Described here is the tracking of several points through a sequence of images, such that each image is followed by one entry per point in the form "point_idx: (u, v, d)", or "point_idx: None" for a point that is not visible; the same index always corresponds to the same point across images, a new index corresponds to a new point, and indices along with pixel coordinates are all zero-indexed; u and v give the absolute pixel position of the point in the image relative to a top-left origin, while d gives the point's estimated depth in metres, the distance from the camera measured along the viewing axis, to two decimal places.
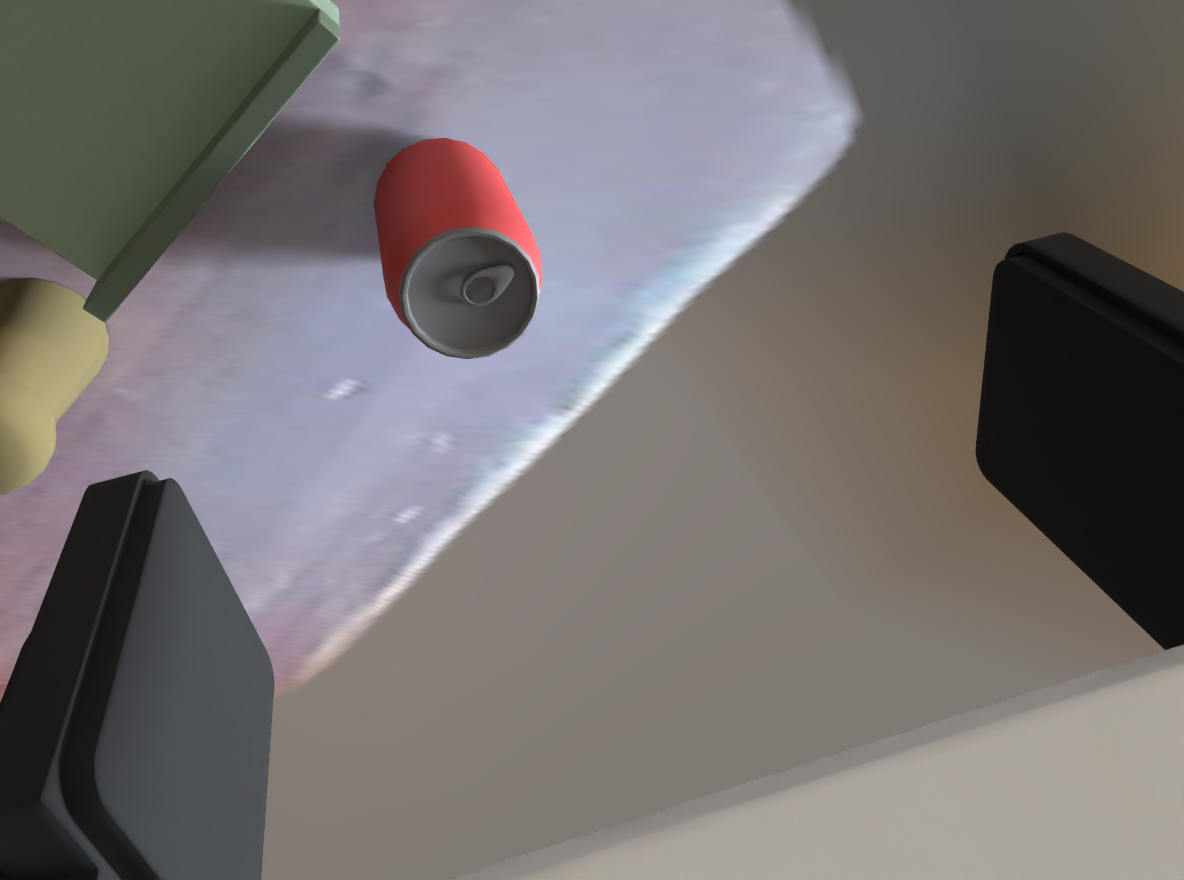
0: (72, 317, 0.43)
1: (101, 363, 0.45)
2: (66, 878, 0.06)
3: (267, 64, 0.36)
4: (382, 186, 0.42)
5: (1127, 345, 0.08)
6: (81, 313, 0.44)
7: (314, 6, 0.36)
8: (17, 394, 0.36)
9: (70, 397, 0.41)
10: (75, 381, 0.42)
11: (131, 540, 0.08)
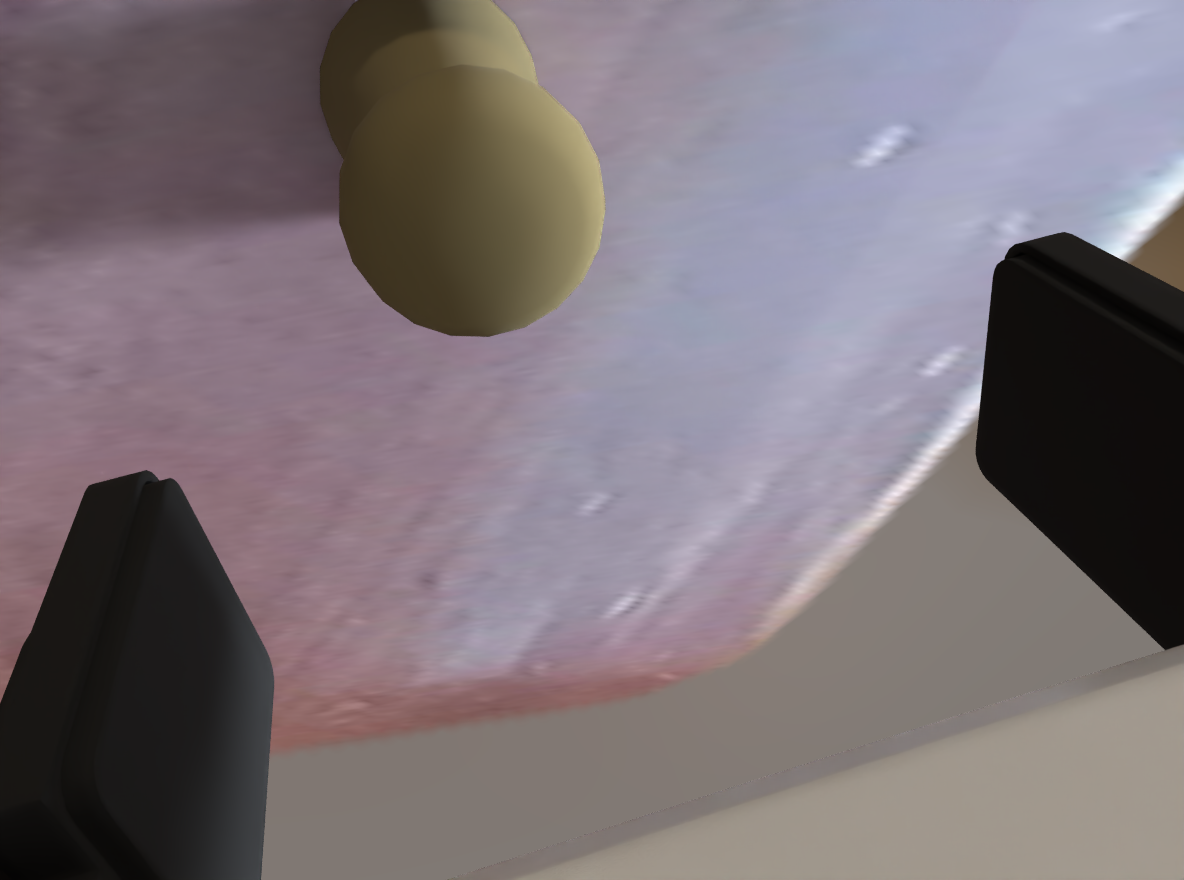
0: (506, 28, 0.23)
1: None
2: (66, 878, 0.06)
3: None
4: None
5: (1127, 345, 0.08)
6: (511, 28, 0.24)
7: None
8: None
9: None
10: None
11: (131, 540, 0.08)
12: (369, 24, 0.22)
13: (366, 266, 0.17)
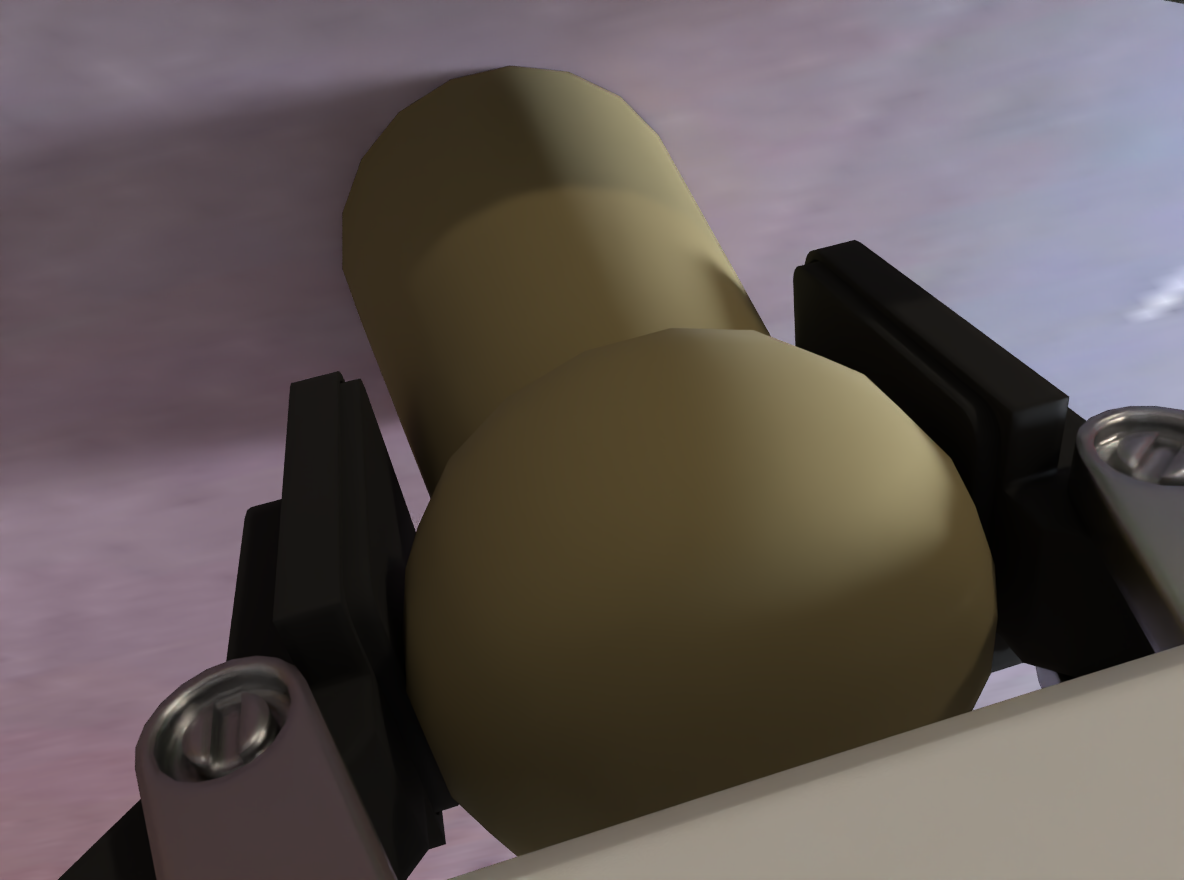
0: (661, 157, 0.14)
1: None
2: (345, 680, 0.07)
3: None
4: None
5: (877, 346, 0.09)
6: (663, 150, 0.14)
7: None
8: (899, 408, 0.07)
9: None
10: None
11: (344, 423, 0.09)
12: (433, 162, 0.12)
13: (471, 810, 0.07)
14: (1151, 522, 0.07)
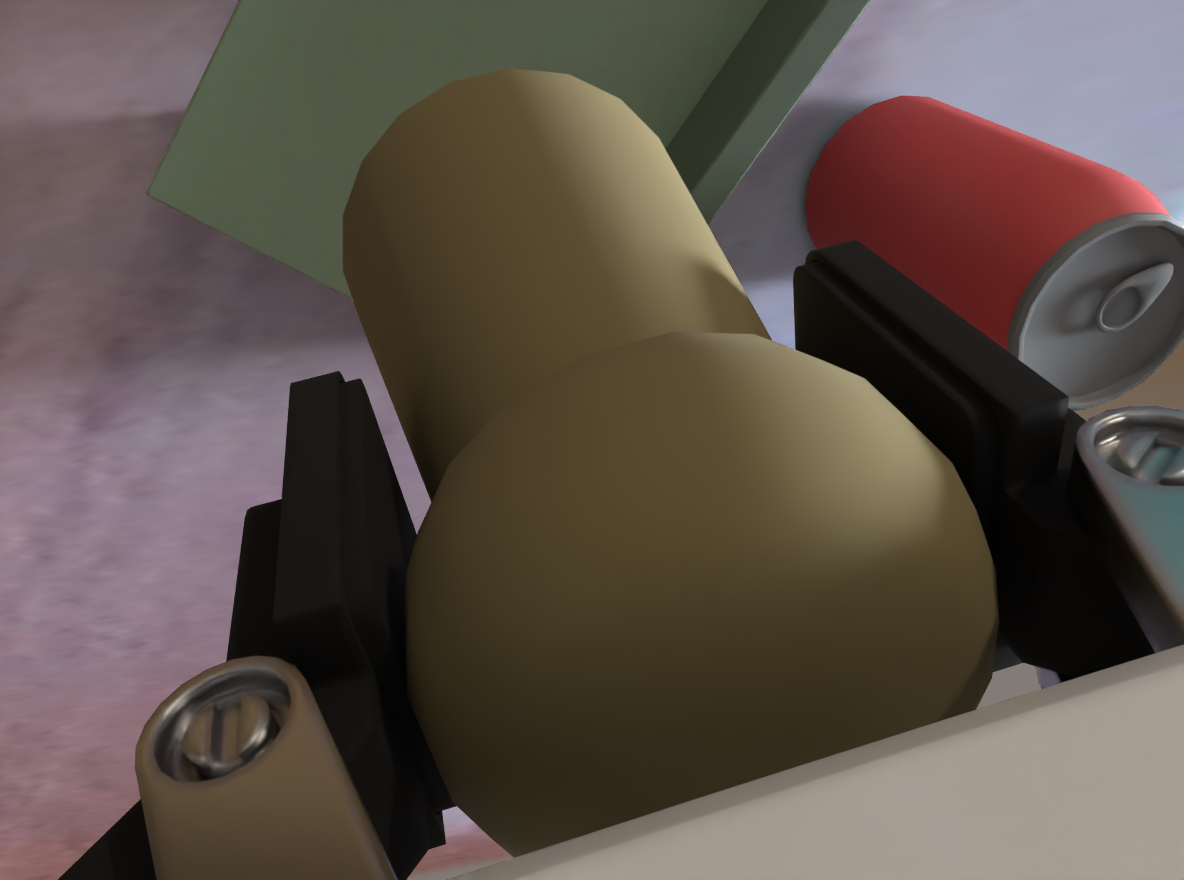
0: (662, 159, 0.14)
1: None
2: (345, 681, 0.07)
3: (742, 27, 0.24)
4: (838, 178, 0.30)
5: (878, 346, 0.09)
6: (663, 153, 0.14)
7: None
8: (899, 412, 0.07)
9: None
10: None
11: (344, 423, 0.09)
12: (434, 164, 0.12)
13: (473, 814, 0.07)
14: (1151, 522, 0.07)
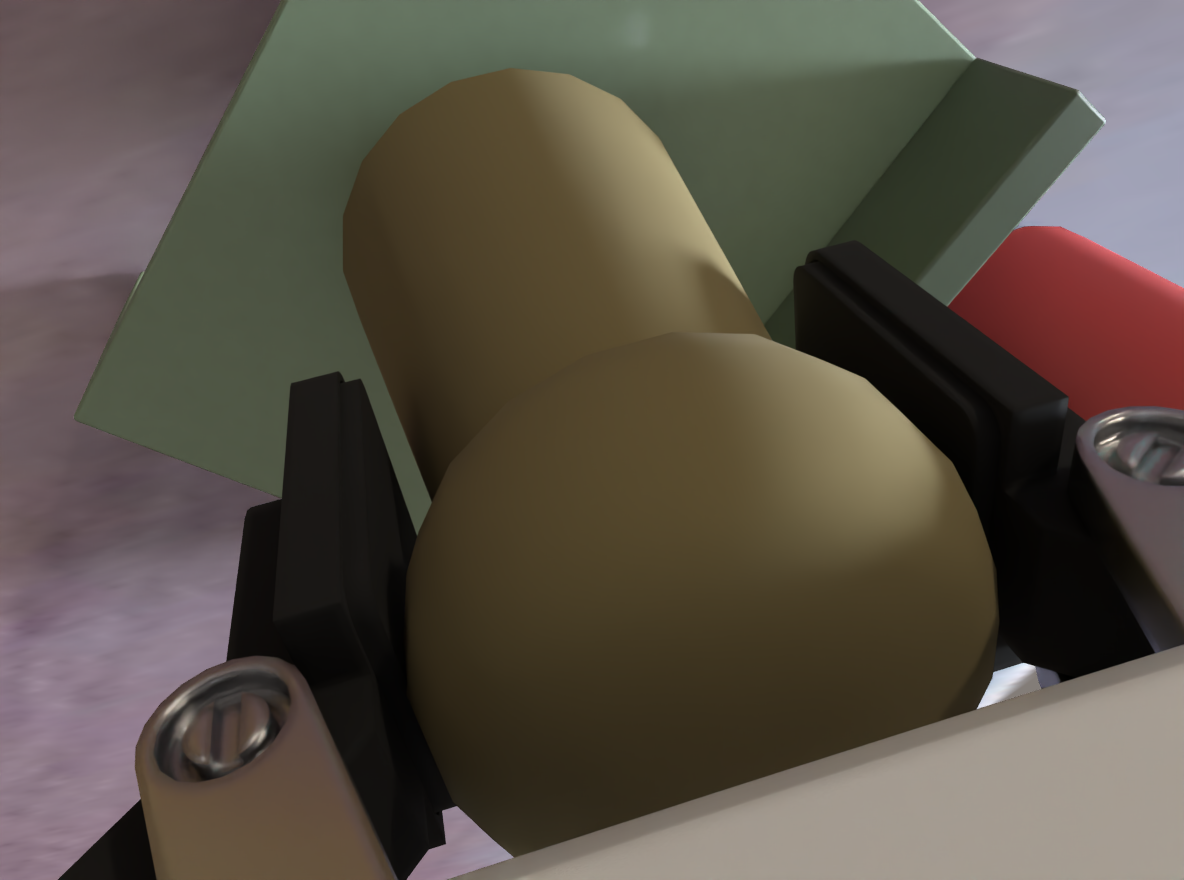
0: (662, 159, 0.14)
1: None
2: (345, 680, 0.07)
3: (865, 185, 0.19)
4: None
5: (877, 346, 0.09)
6: (663, 153, 0.14)
7: (966, 55, 0.18)
8: None
9: None
10: None
11: (344, 423, 0.09)
12: (433, 164, 0.12)
13: (473, 814, 0.07)
14: (1151, 522, 0.07)
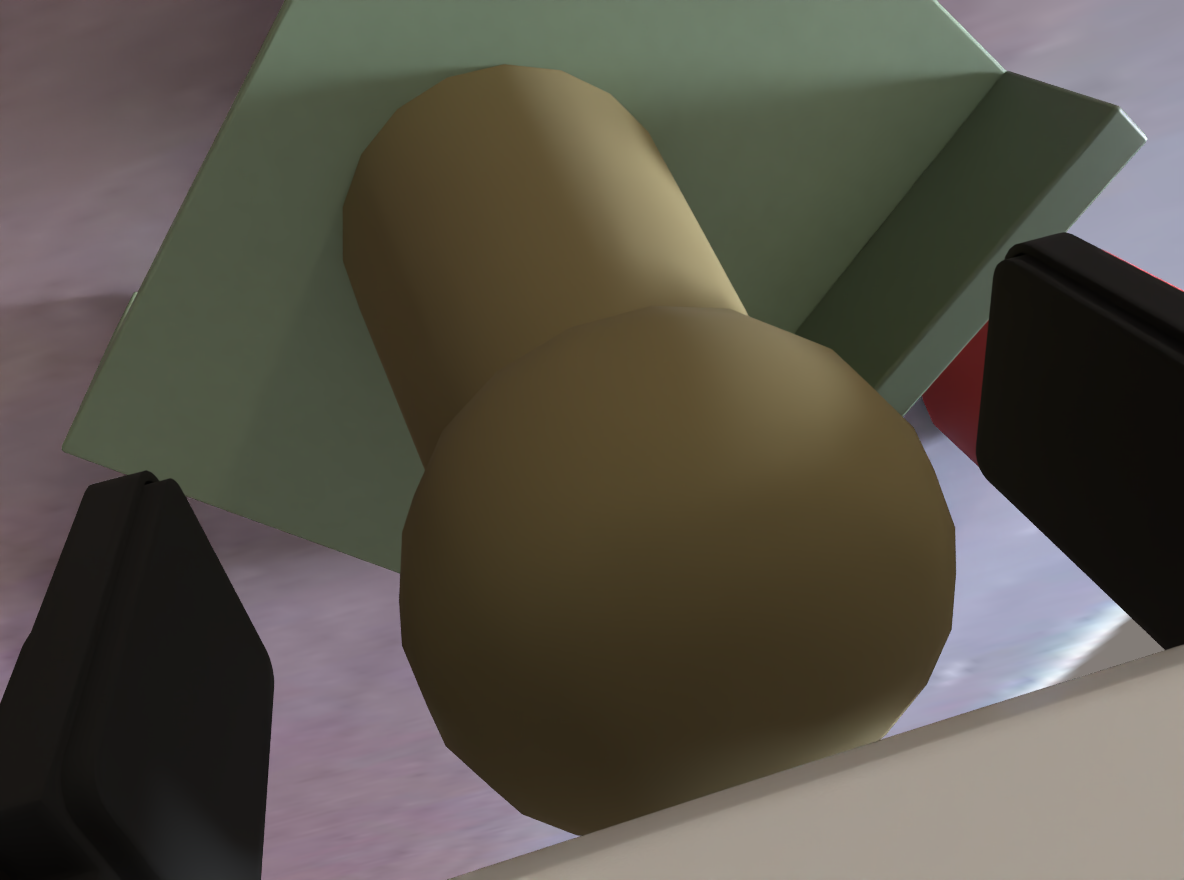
0: (650, 151, 0.14)
1: None
2: (66, 878, 0.06)
3: (889, 203, 0.18)
4: (975, 352, 0.24)
5: (1127, 345, 0.08)
6: (652, 146, 0.15)
7: (996, 68, 0.17)
8: None
9: None
10: None
11: (131, 540, 0.08)
12: (430, 155, 0.13)
13: (464, 754, 0.08)
14: None
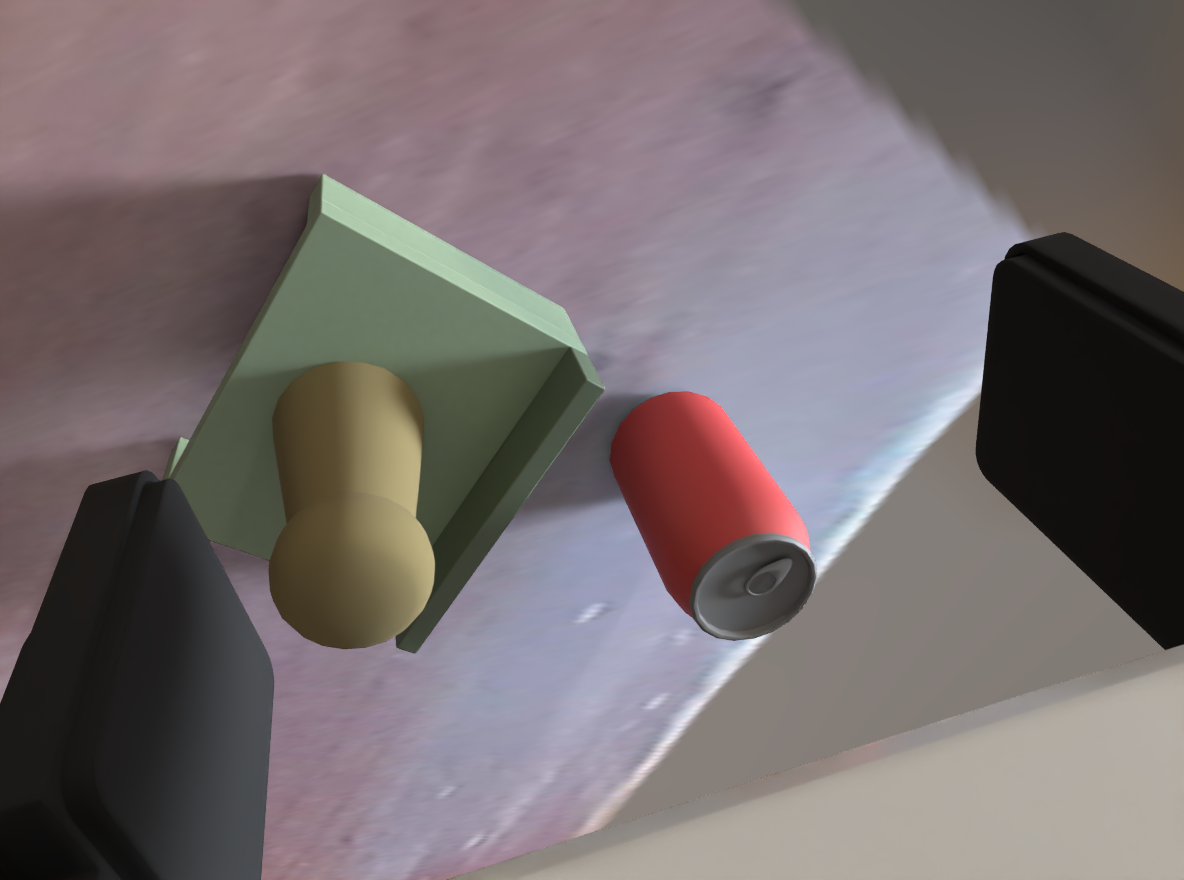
0: (393, 400, 0.35)
1: (422, 448, 0.37)
2: (66, 878, 0.06)
3: (527, 401, 0.39)
4: (622, 455, 0.44)
5: (1127, 345, 0.08)
6: (399, 393, 0.36)
7: (565, 345, 0.38)
8: (394, 515, 0.29)
9: (417, 499, 0.34)
10: (418, 478, 0.34)
11: (131, 540, 0.08)
12: (300, 411, 0.34)
13: (285, 619, 0.29)
14: None
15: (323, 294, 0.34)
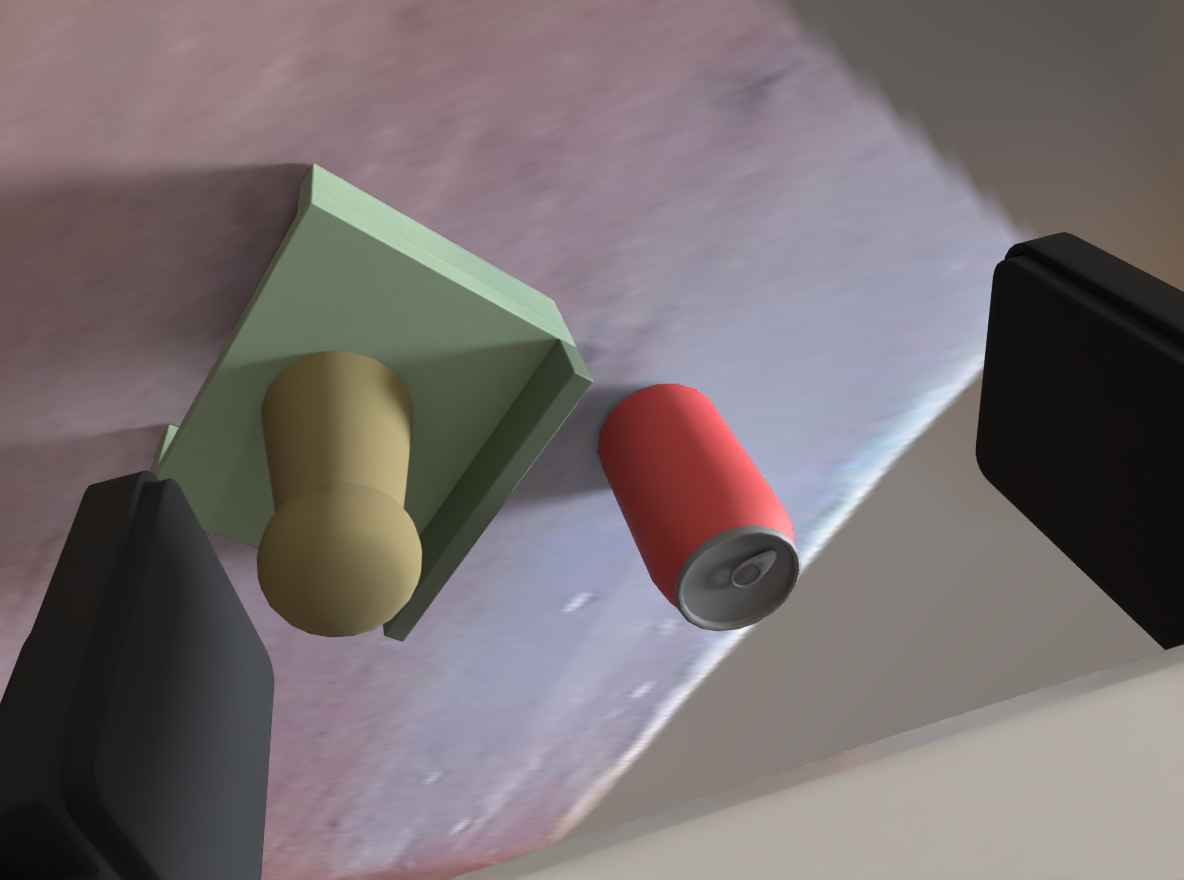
0: (382, 391, 0.35)
1: None
2: (66, 878, 0.06)
3: (515, 392, 0.39)
4: (610, 446, 0.45)
5: (1127, 345, 0.08)
6: (388, 384, 0.36)
7: (554, 337, 0.38)
8: (382, 505, 0.29)
9: (405, 489, 0.34)
10: (406, 468, 0.34)
11: (131, 540, 0.08)
12: (289, 400, 0.34)
13: (273, 607, 0.29)
14: None
15: (313, 284, 0.34)
